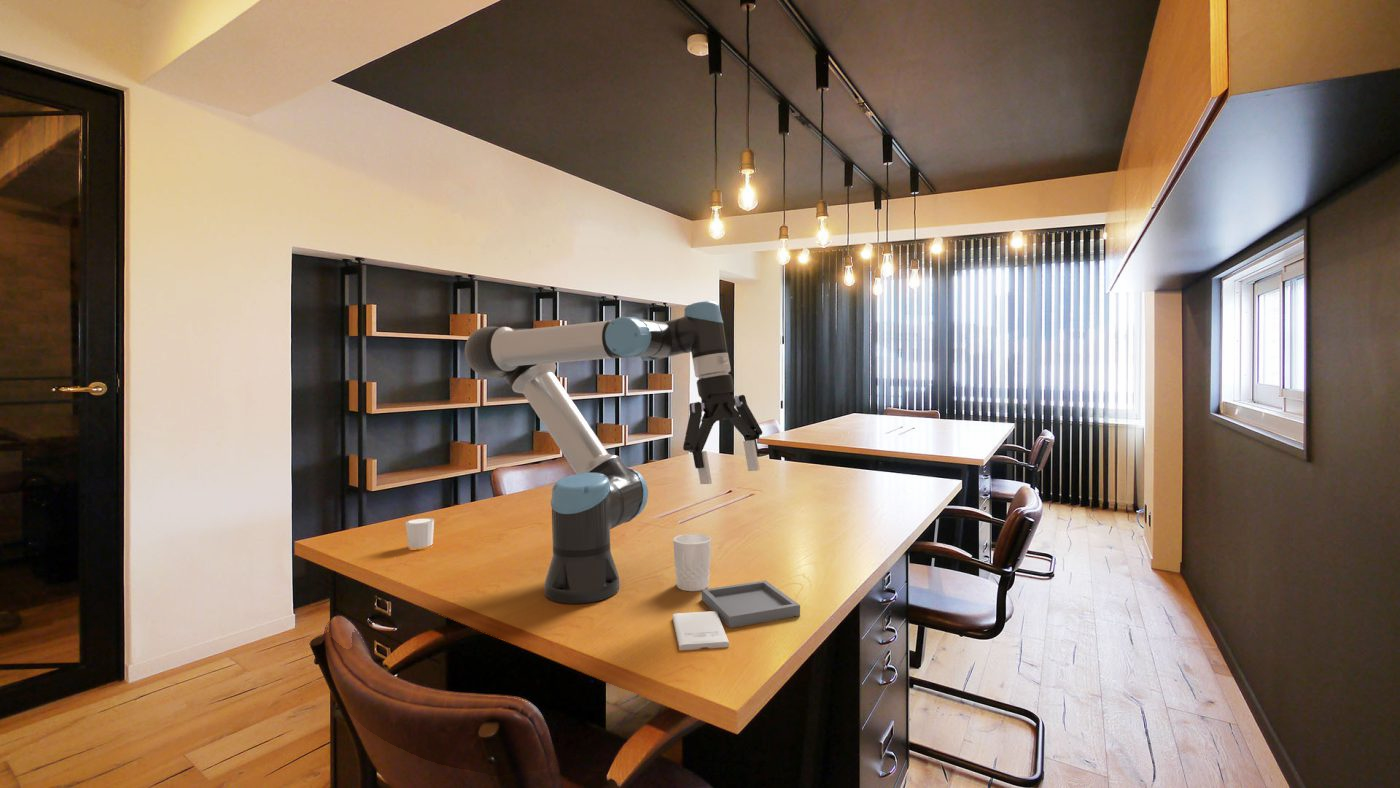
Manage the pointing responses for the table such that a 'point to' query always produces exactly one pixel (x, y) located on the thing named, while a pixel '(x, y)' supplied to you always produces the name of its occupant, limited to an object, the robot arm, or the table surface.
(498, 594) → the table surface
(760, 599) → the tray
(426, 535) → the white short cylinder
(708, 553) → the white cup
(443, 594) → the table surface
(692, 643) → the external hard drive
